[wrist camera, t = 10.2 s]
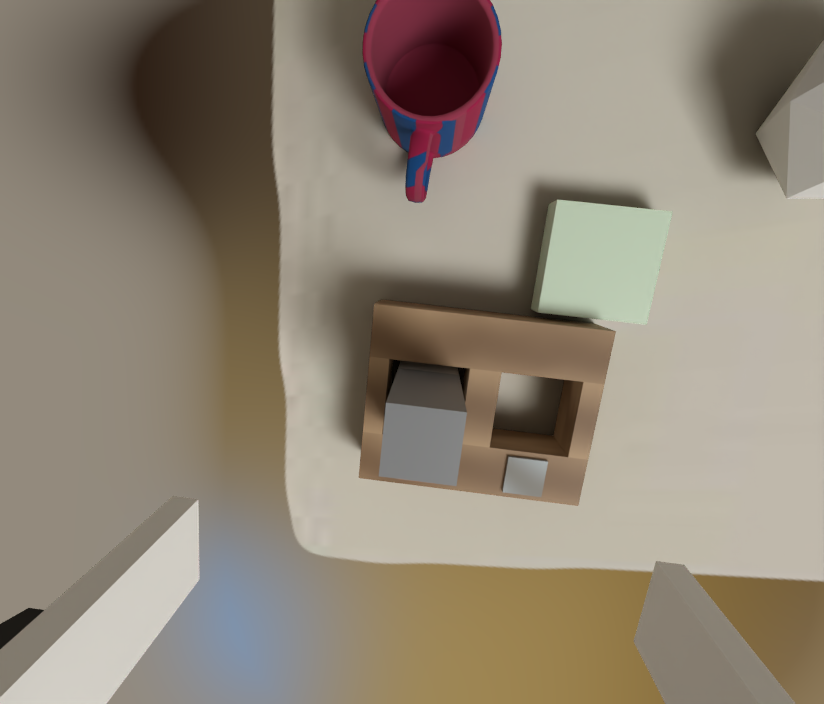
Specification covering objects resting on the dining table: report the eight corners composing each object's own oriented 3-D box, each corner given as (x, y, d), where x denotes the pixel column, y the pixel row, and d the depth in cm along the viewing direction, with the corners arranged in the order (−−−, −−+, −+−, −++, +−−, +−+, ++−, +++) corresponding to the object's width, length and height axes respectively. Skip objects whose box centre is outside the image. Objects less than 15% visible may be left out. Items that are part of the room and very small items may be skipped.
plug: (401, 357, 30) (385, 402, 20) (456, 364, 30) (467, 412, 20) (396, 409, 31) (378, 476, 21) (449, 415, 31) (456, 486, 21)
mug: (498, 58, 26) (520, -14, 19) (454, 220, 28) (460, 206, 21) (394, 31, 26) (380, -51, 19) (358, 195, 28) (334, 173, 21)
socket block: (381, 299, 29) (373, 304, 26) (594, 323, 29) (617, 332, 25) (366, 454, 32) (358, 479, 28) (562, 479, 31) (579, 507, 28)
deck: (548, 204, 27) (557, 199, 25) (655, 215, 27) (672, 211, 25) (530, 309, 29) (537, 312, 27) (632, 320, 29) (646, 324, 27)
